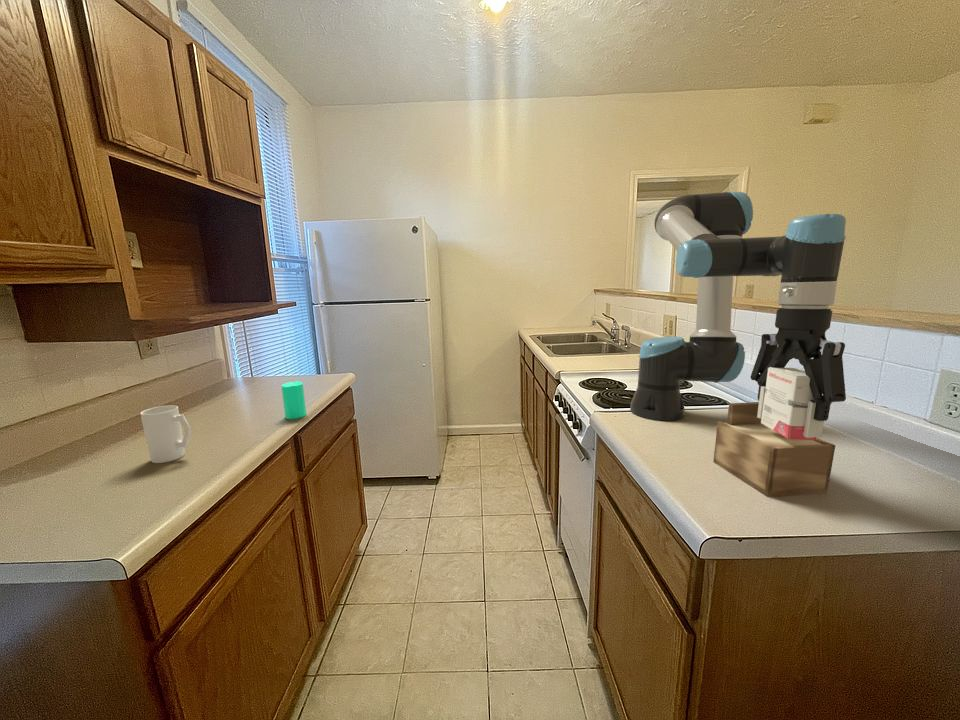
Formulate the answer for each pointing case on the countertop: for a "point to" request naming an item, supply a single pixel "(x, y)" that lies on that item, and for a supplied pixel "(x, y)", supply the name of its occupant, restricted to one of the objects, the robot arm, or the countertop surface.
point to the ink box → (786, 402)
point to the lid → (758, 426)
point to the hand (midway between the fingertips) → (786, 426)
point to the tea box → (774, 463)
